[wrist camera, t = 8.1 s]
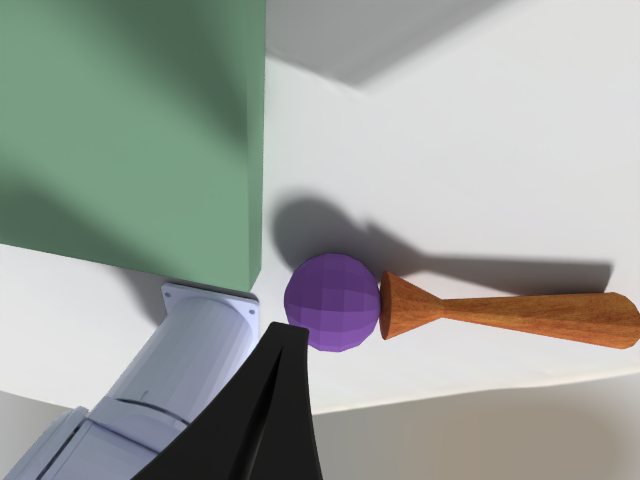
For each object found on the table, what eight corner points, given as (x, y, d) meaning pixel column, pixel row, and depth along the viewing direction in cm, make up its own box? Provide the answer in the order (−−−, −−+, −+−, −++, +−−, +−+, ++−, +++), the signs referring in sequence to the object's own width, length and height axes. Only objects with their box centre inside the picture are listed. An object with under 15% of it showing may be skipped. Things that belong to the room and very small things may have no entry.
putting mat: (261, 269, 22) (249, 292, 19) (-39, 211, 23) (-80, 227, 21) (266, -15, 13) (245, -28, 11) (-220, -82, 14) (-323, -106, 12)
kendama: (611, 390, 18) (281, 364, 19) (559, 306, 22) (294, 288, 23) (701, 342, 14) (271, 312, 14) (615, 250, 18) (289, 231, 19)
